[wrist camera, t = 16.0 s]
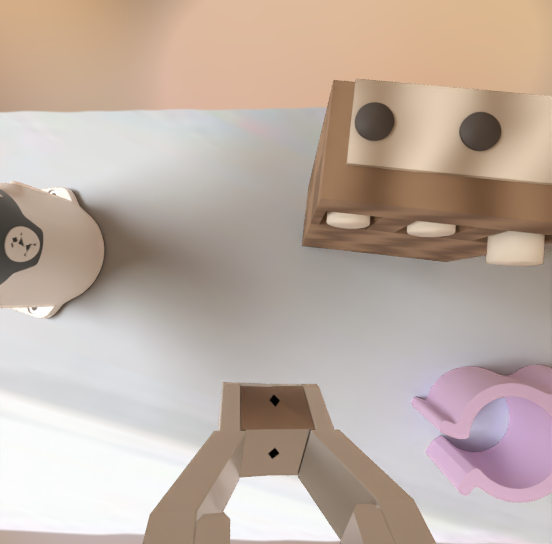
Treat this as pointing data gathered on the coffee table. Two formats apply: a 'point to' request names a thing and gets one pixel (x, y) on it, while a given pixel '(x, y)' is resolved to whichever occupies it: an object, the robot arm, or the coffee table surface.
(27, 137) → the coffee table surface
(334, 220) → the button
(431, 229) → the button middle
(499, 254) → the button
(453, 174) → the console
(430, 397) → the clip
